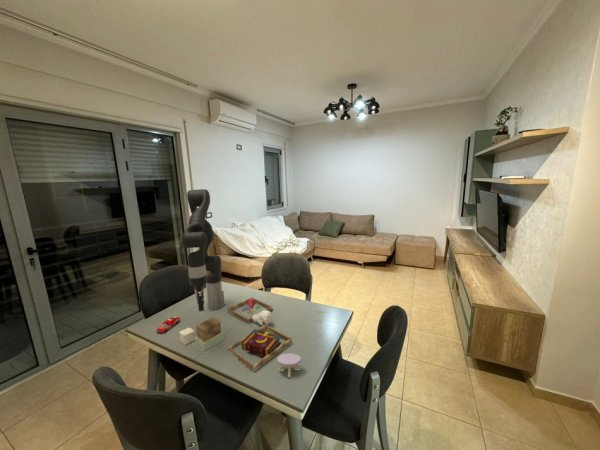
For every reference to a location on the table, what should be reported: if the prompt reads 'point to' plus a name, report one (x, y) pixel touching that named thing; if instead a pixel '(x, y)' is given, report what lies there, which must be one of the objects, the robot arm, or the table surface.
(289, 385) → the table surface
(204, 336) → the walnut brick
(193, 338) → the cream brick
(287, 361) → the toy table
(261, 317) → the cream lumpy sculpture
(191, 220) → the robot arm
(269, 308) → the pieces tray
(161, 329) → the race car
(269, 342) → the decorative book
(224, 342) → the baseplate
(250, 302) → the toy pieces
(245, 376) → the table surface
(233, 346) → the book tray
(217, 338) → the base brick
